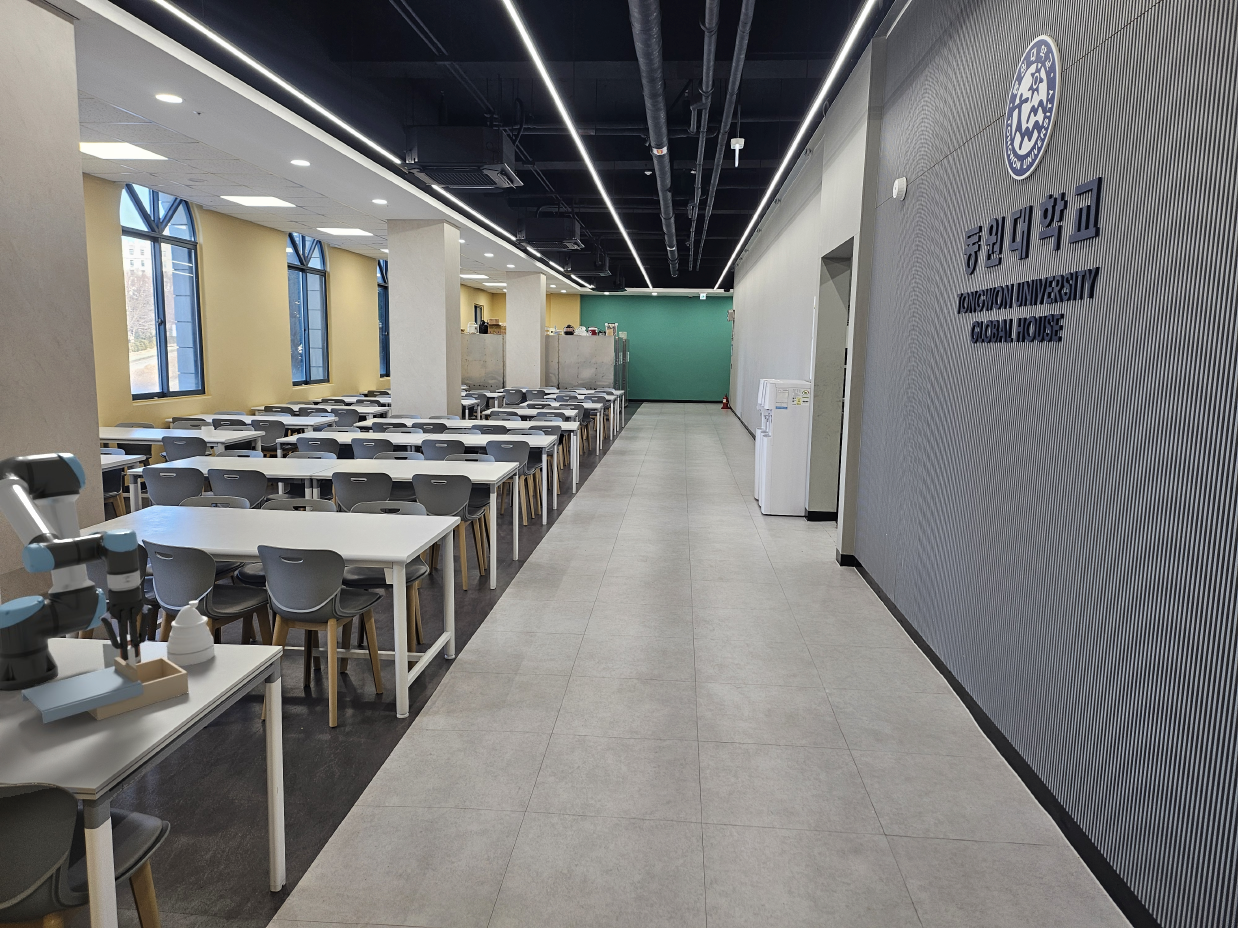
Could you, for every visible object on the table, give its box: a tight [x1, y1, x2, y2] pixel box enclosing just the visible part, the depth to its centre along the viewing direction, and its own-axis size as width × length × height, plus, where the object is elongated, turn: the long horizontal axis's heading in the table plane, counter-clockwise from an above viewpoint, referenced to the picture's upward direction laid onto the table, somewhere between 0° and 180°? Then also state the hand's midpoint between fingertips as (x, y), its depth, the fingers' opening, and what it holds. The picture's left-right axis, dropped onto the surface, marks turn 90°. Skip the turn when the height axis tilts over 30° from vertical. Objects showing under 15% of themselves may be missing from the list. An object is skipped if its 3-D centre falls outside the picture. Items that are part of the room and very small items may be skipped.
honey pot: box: [166, 600, 215, 666], centre depth 241 cm, size 13×13×18 cm
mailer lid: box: [21, 657, 143, 724], centre depth 204 cm, size 19×22×6 cm
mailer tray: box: [87, 656, 190, 721], centre depth 213 cm, size 17×22×6 cm
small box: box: [102, 634, 142, 669], centre depth 229 cm, size 8×6×10 cm
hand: (131, 669), depth 213 cm, fingers closed
